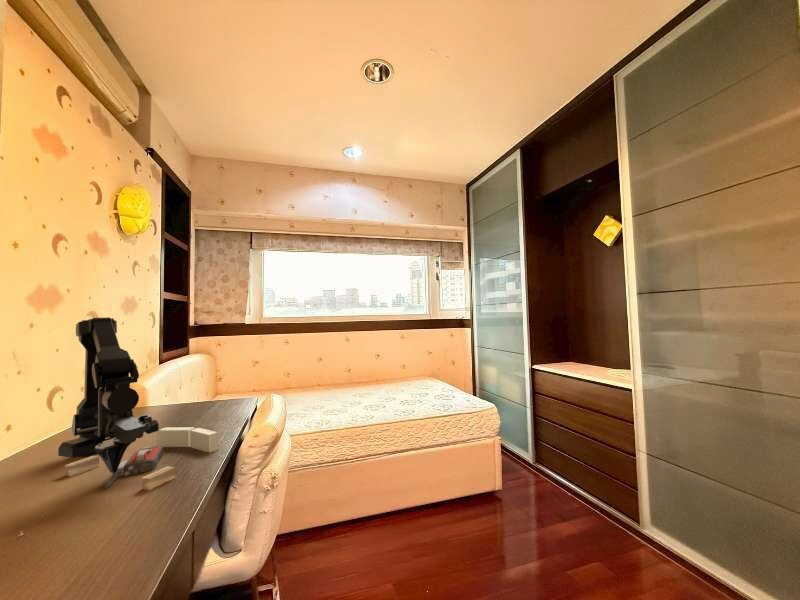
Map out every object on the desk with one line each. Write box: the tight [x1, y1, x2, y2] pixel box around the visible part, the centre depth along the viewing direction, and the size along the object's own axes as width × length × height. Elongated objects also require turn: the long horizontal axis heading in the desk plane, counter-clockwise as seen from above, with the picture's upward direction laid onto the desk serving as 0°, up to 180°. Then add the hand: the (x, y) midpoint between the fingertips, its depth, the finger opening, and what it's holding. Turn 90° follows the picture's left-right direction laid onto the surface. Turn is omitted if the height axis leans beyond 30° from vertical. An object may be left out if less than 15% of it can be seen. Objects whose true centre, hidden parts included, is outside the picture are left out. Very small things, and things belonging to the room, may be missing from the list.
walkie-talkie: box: [103, 445, 164, 488], centre depth 87 cm, size 9×4×20 cm
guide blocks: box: [64, 455, 176, 491], centre depth 83 cm, size 30×6×2 cm, turn 71°
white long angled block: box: [157, 426, 219, 453], centre depth 102 cm, size 21×4×5 cm, turn 71°
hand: (113, 472), depth 82 cm, fingers closed
